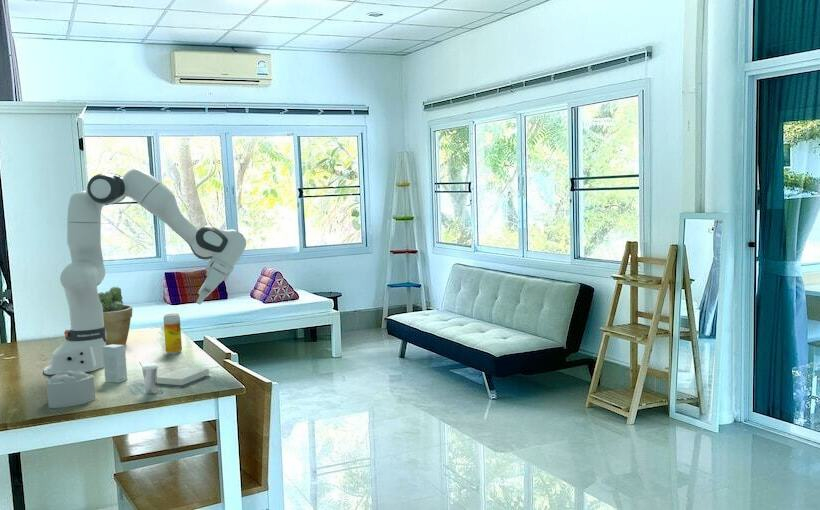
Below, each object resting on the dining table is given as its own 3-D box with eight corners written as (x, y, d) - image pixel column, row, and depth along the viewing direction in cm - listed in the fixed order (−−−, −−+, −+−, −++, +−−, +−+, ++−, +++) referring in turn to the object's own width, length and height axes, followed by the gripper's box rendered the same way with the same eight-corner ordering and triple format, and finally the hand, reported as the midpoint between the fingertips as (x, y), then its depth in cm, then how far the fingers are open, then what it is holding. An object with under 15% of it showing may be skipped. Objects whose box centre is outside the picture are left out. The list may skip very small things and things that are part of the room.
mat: (181, 374, 255) (181, 373, 255) (210, 376, 250) (210, 375, 250) (152, 385, 242) (152, 384, 242) (182, 387, 237) (182, 386, 237)
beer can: (177, 354, 287) (174, 316, 286) (162, 354, 289) (160, 316, 287) (184, 350, 293) (182, 313, 292) (170, 350, 294) (168, 313, 293)
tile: (184, 367, 255) (156, 377, 242) (208, 368, 251) (181, 379, 238) (184, 373, 255) (156, 383, 242) (209, 375, 251) (181, 386, 238)
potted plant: (118, 339, 322) (114, 282, 320) (144, 343, 311) (140, 284, 309) (78, 347, 307) (74, 287, 305) (104, 352, 296) (99, 290, 294)
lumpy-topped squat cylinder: (48, 400, 228) (46, 373, 227) (94, 394, 233) (92, 367, 233) (48, 409, 218) (46, 380, 218) (96, 402, 224) (94, 374, 223)
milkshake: (143, 391, 235) (141, 360, 234) (160, 390, 235) (158, 359, 234) (139, 395, 230) (137, 363, 229) (157, 394, 231) (155, 362, 230)
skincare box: (127, 379, 250) (125, 344, 249) (118, 383, 246) (115, 347, 245) (114, 378, 253) (111, 343, 251) (104, 381, 249) (101, 346, 248)
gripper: (206, 271, 281) (187, 302, 276) (214, 261, 263) (194, 294, 258) (221, 279, 283) (202, 311, 278) (230, 270, 264) (210, 303, 259)
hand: (198, 303), depth 268 cm, fingers closed
